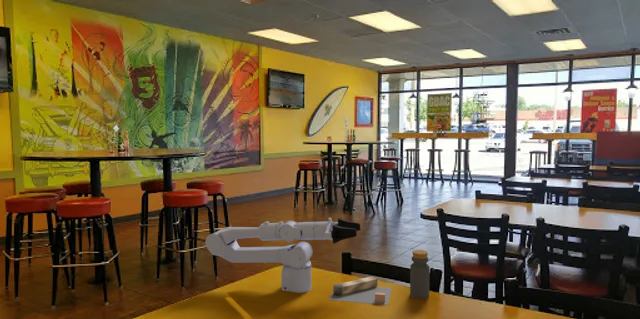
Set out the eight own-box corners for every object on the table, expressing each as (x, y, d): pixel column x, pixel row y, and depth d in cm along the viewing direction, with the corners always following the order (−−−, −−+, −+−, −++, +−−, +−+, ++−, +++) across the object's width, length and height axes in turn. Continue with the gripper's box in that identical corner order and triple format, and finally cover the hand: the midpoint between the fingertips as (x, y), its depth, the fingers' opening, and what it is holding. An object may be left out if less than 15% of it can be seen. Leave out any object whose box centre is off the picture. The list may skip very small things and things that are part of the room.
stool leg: (336, 296, 136) (336, 288, 135) (331, 292, 138) (331, 285, 138) (377, 285, 144) (377, 278, 144) (371, 283, 146) (371, 276, 146)
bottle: (429, 303, 133) (430, 255, 132) (410, 301, 134) (410, 254, 133) (428, 295, 139) (429, 249, 138) (410, 294, 140) (410, 248, 139)
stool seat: (328, 303, 133) (328, 299, 133) (337, 286, 147) (337, 283, 147) (387, 309, 129) (387, 305, 129) (391, 291, 143) (391, 287, 142)
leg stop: (374, 301, 131) (374, 294, 131) (375, 299, 133) (375, 292, 133) (384, 302, 131) (384, 295, 130) (385, 300, 132) (385, 293, 132)
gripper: (309, 223, 133) (353, 222, 129) (320, 213, 147) (360, 212, 143) (311, 246, 133) (355, 245, 130) (322, 234, 147) (362, 233, 144)
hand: (358, 229), depth 137 cm, fingers open, 7 cm apart
